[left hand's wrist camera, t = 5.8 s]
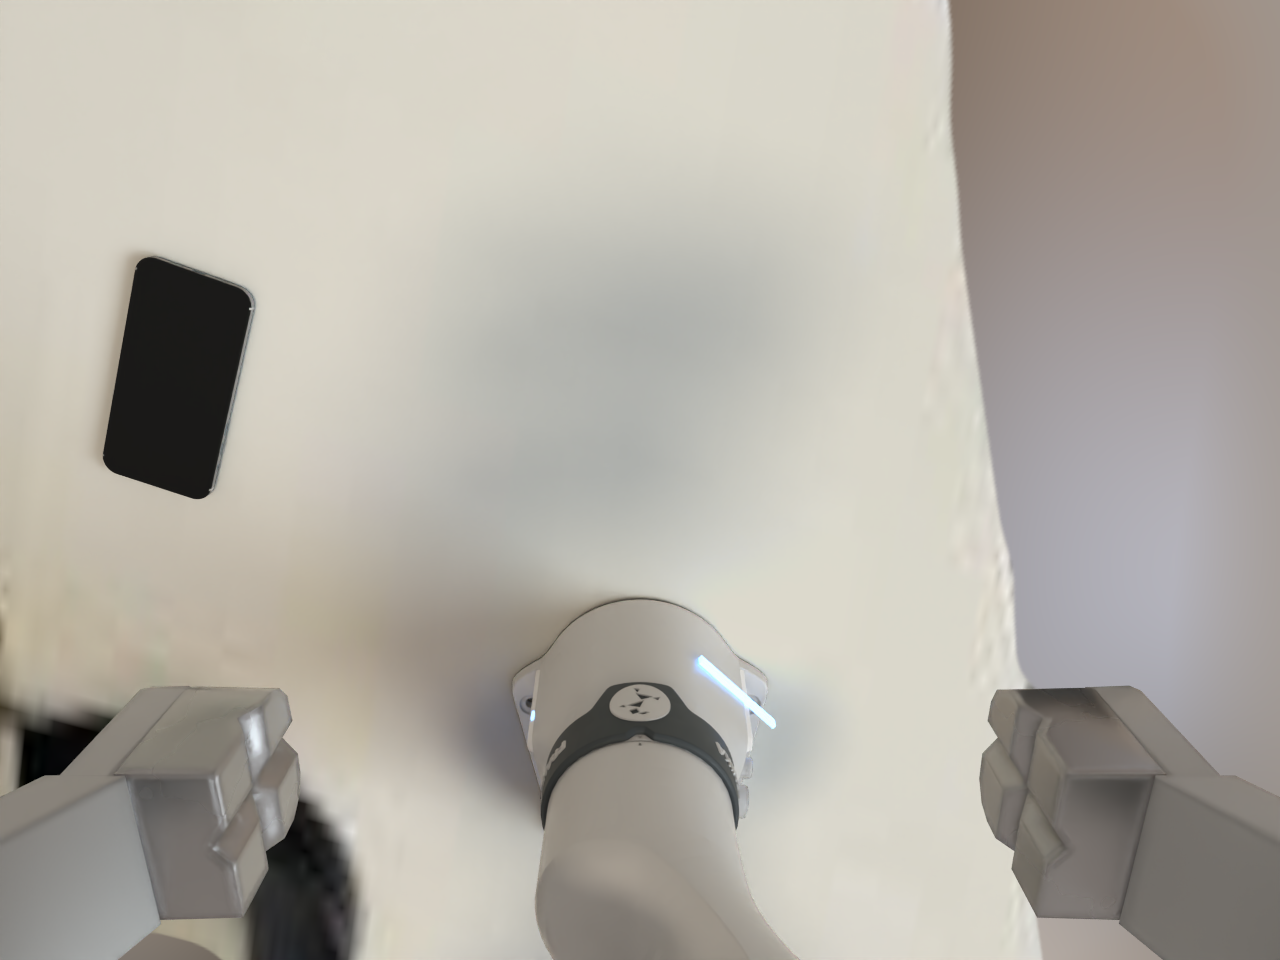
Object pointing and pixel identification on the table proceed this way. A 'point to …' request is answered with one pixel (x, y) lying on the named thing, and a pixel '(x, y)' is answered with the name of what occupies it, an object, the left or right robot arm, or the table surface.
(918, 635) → the table surface
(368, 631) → the table surface
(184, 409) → the smartphone
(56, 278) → the table surface
